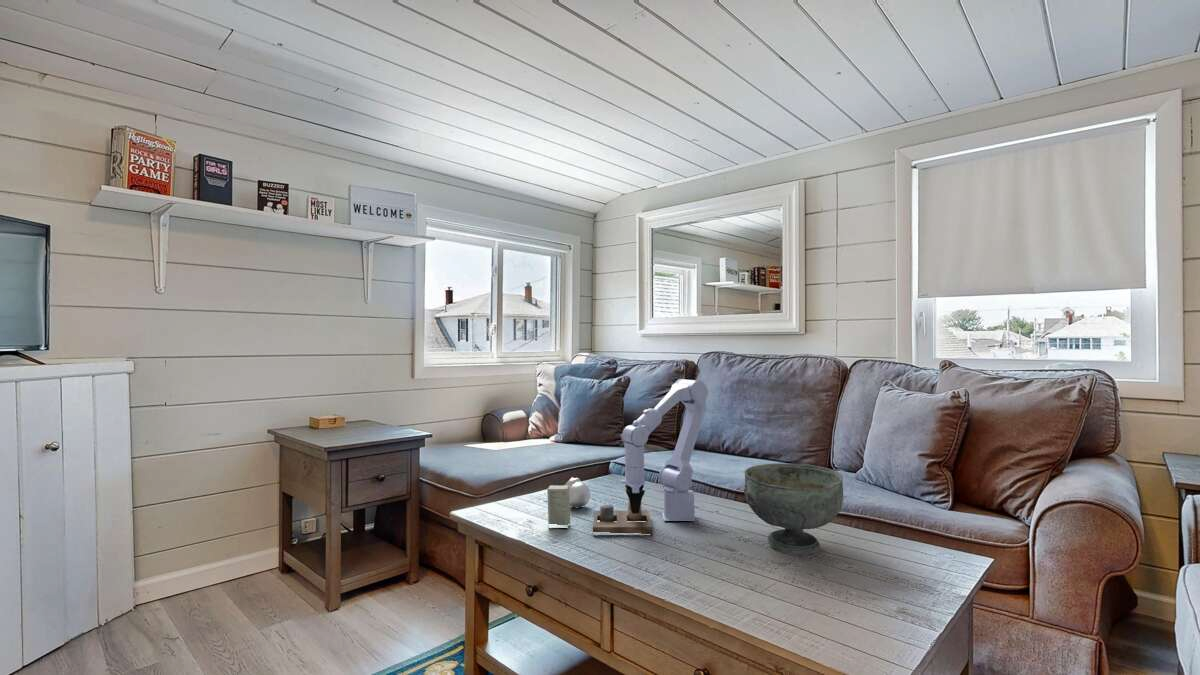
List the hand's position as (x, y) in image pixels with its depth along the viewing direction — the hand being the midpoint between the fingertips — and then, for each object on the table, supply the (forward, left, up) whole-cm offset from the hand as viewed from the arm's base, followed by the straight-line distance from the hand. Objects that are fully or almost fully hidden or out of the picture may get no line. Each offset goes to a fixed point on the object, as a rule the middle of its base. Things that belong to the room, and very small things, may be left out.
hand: (635, 510), depth 172 cm
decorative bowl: (-42, +17, -5) cm, 46 cm away
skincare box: (+23, 0, -5) cm, 24 cm away
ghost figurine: (+19, -20, -5) cm, 28 cm away
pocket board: (+4, 0, -5) cm, 6 cm away
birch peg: (0, 0, -2) cm, 2 cm away
